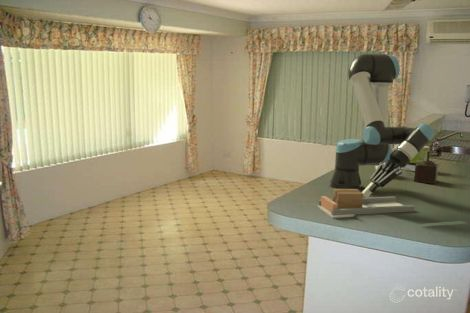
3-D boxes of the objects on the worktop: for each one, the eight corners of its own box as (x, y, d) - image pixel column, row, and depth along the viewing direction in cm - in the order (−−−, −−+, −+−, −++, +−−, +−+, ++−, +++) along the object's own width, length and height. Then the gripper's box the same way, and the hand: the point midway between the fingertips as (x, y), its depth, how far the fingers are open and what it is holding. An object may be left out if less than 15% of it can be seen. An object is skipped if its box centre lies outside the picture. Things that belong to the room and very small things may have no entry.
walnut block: (332, 204, 173) (333, 188, 172) (356, 205, 173) (357, 189, 172) (337, 210, 166) (338, 193, 165) (361, 210, 167) (363, 193, 165)
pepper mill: (435, 185, 214) (440, 150, 211) (413, 181, 220) (416, 148, 217) (440, 179, 227) (444, 147, 223) (419, 176, 233) (422, 144, 229)
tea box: (428, 170, 248) (431, 146, 245) (422, 173, 241) (425, 148, 238) (402, 166, 258) (405, 143, 255) (396, 168, 251) (399, 144, 248)
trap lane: (317, 206, 173) (318, 195, 172) (393, 202, 181) (394, 191, 180) (332, 217, 160) (333, 205, 159) (414, 213, 168) (415, 201, 167)
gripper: (418, 164, 164) (377, 206, 164) (398, 157, 177) (360, 197, 176) (408, 151, 162) (366, 194, 161) (388, 145, 174) (350, 186, 174)
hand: (363, 196), depth 169 cm, fingers closed
